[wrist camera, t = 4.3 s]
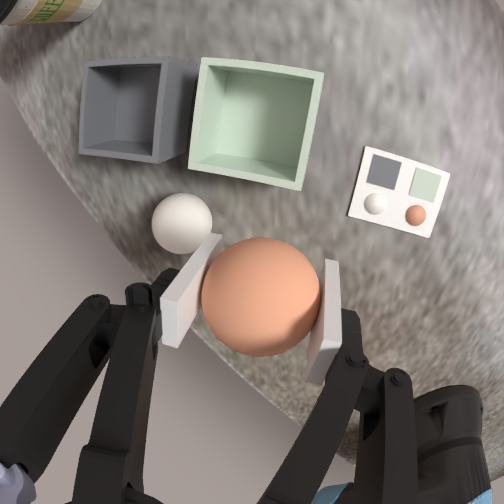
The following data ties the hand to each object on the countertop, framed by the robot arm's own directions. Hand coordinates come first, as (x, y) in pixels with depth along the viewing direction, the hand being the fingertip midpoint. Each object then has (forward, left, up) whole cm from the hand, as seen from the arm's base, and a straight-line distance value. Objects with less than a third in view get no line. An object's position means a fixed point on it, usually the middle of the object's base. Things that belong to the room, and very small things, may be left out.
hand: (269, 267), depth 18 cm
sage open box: (+7, +4, -14) cm, 16 cm away
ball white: (-4, +10, -11) cm, 15 cm away
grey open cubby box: (+7, +16, -14) cm, 22 cm away
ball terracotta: (0, 0, +3) cm, 3 cm away
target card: (+3, -10, -14) cm, 17 cm away
